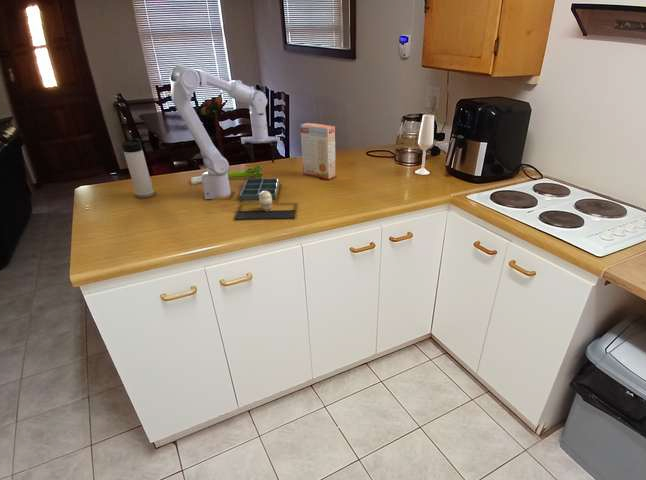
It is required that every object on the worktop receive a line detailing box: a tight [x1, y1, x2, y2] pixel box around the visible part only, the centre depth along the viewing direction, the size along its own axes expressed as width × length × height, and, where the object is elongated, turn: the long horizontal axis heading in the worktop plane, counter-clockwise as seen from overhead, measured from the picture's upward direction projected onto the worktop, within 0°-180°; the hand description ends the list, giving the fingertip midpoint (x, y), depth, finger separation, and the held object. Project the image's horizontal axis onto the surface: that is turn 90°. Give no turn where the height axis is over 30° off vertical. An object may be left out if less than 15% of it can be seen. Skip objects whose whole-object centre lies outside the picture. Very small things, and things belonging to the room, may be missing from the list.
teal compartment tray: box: [239, 177, 281, 202], centre depth 159 cm, size 13×20×3 cm
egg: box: [258, 191, 274, 211], centre depth 142 cm, size 4×4×7 cm
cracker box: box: [300, 122, 336, 180], centre depth 173 cm, size 14×6×21 cm, turn 58°
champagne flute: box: [414, 114, 435, 176], centre depth 178 cm, size 7×7×24 cm
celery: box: [191, 164, 264, 186], centre depth 170 cm, size 6×7×30 cm
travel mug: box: [121, 138, 155, 199], centre depth 151 cm, size 6×7×20 cm
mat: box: [234, 209, 296, 221], centre depth 144 cm, size 20×14×1 cm
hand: (263, 162), depth 161 cm, fingers open, 7 cm apart
